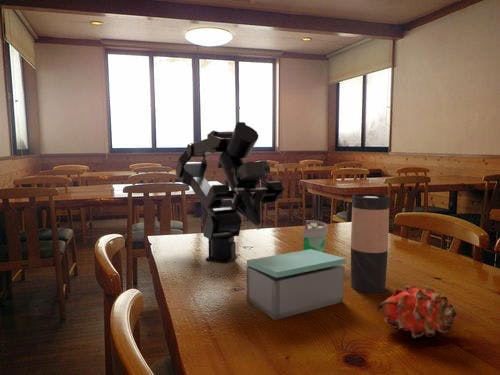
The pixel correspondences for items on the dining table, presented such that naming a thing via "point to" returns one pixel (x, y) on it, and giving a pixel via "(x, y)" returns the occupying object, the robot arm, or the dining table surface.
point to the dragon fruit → (418, 311)
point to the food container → (314, 235)
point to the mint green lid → (295, 262)
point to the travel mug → (369, 242)
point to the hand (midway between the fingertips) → (258, 224)
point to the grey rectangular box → (294, 291)
